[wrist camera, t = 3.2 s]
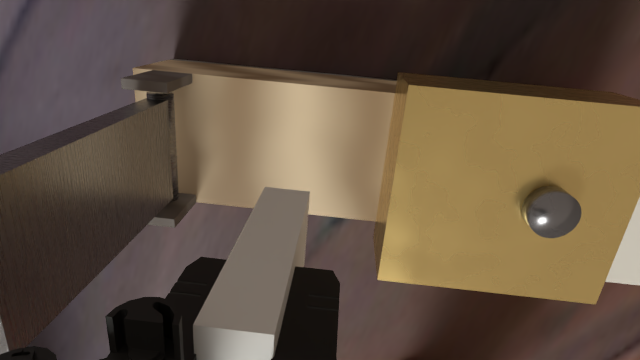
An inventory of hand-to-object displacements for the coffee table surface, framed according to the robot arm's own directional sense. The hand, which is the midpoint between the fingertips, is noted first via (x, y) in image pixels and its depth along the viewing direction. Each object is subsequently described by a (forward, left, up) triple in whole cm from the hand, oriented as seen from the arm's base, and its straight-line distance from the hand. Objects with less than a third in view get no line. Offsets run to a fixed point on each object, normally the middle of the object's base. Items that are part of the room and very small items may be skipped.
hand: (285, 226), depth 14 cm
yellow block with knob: (+9, 0, -8) cm, 12 cm away
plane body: (+3, 0, -13) cm, 13 cm away
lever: (-7, 0, -7) cm, 10 cm away
